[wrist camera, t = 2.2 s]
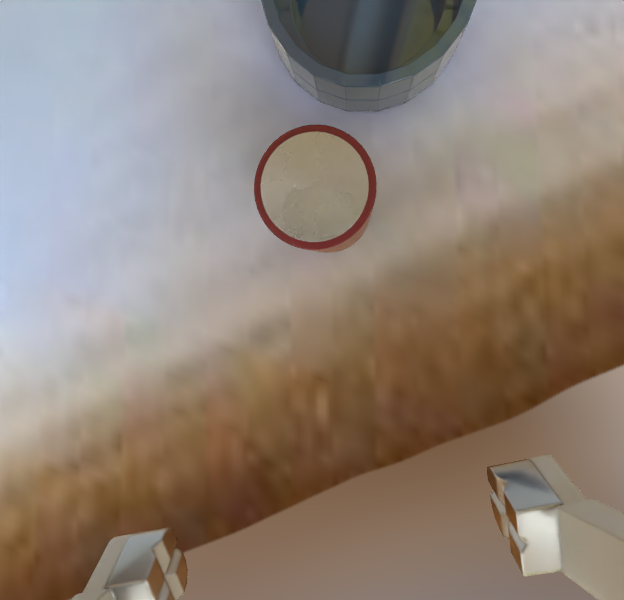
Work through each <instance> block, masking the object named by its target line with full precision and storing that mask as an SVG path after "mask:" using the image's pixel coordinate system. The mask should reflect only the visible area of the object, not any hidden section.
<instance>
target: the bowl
mask: <svg viewBox="0 0 624 600" xmlns="http://www.w3.org/2000/svg"><path fill="white" fill-rule="evenodd" d="M261 1H262V5H263V8H264V12H265V16H266V19H267V23H268V26H269V29H270V31H271V34H272V37H273V39H274V42H275V44H276V47H277V50H278V52H279V55H280V58H281V60H282V61H283V63H284V64H285V66H286V67H287V69H288V71H289V72H290V74H291V75H292V77H293V78H294V80H295V81H296V83H297V84H298V85H300V86H301V87H302V88H303V89H305V90H306V91H307V92H308V93H310V94H311V95H312V96H313V97H315V98H316V99H317V100H319V101H320V102H322V103H325V104H328V105H331V106H334V107H337V108H339V109H342V110H345V111H380V110H383V109H386V108H390V107H393V106H396V105H399V104H402V103H405V102H407V101H408V100H410V99H411V98H413V97H414V96H416V95H417V94H418V93H420V92H421V91H423V90H424V89H425V88H427V87H428V86H430V85H431V84H432V83H433V82H434V80H435V79H436V78H437V77H438V75H439V74H440V73H441V71H442V70H443V69H444V68H445V66H446V65H447V64H448V62H449V61H450V60H451V58H452V56H453V54H454V52H455V50H456V47H457V45H458V43H459V41H460V39H461V37H462V35H463V32H464V30H465V28H466V26H467V24H468V21H469V19H470V16H471V14H472V11H473V8H474V6H475V3H476V1H477V0H261Z"/></svg>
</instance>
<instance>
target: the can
mask: <svg viewBox="0 0 624 600" xmlns="http://www.w3.org/2000/svg"><path fill="white" fill-rule="evenodd" d="M254 195H255V201H256V205H257V209H258V211H259V214H260V216H261V218H262V219H263V221H264V223H265V224H266V226H267V227H268V228H269V229H270V230H271V231H272V232H273V234H274V235H276V236H277V237H278V238H280V239H281V240H282V241H284V242H286V243H288V244H290V245H292V246H295V247H298V248H302V249H307V250H313V251H318V252H337V251H341V250H343V249H346V248H348V247H349V246H351V245H352V244H354V243H355V242H356V241H357V240H358V239H359V238H360V237H361V236H362V234H363V233H364V231H365V229H366V227H367V225H368V222H369V219H370V215H371V212H372V209H373V205H374V202H375V197H376V175H375V171H374V167H373V165H372V162H371V160H370V158H369V156H368V154H367V152H366V151H365V150H364V148H363V147H362V146H361V145H360V144H359V143H358V142H357V140H355V139H354V138H353V137H352V136H350V135H349V134H347V133H345V132H344V131H342V130H339V129H337V128H334V127H330V126H325V125H307V126H302V127H299V128H295V129H293V130H291V131H289V132H287V133H285V134H283V135H282V136H280V137H279V138H278V139H277V140H275V141H274V142H273V143H272V144H271V146H270V147H269V148H268V149H267V151H266V152H265V153H264V155H263V157H262V159H261V160H260V163H259V165H258V168H257V171H256V175H255V182H254Z"/></svg>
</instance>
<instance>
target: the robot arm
mask: <svg viewBox="0 0 624 600" xmlns="http://www.w3.org/2000/svg"><path fill="white" fill-rule="evenodd" d="M487 475H488V481H489V483H490V485H491V487H492V489H493V492H492V493H491V495H490V497H491V503H492V508H493V512H494V515H495V519H496V521H497V524H498V526H499V528H500V531H501V532H502V535H503V536H504V537H506V538H507V539H509V540H510V547H511V553H512V554H513V556H514V558H515V560H516V562H517V564H518V566H519V568H520V570H521V572H522V574H523V576H529V575H537V574H544V573H550V572H558V571H562V572H563V574H565V575H566V576H567V577H569V578H570V579H571V580H573V581H574V582H575V583H577V584H578V585H579V586H581V587H582V588H583V589H585V590H586V591H587V592H589V593H590V594H591V595H593V596H594V597H595V598H597V599H598V600H624V513H623V512H621V511H619V510H617V509H615V508H612V507H610V506H608V505H606V504H603V503H602V502H599V501H597V500H595V499H593V500H587V498H586V497H585V496H584V495H583V493H582V492H581V491H580V490H579V489H578V487H577V486H576V485H575V484H574V482H573V481H572V480H571V479H570V477H569V476H568V475H567V474H566V473H565V471H564V470H563V469H562V468H561V466H560V465H559V464H558V463H557V461H556V460H555V459H554V458H553V457H552V456H551V455H549V454H546V455H542V456H537V457H532V458H528V459H525V460H520V461H515V462H510V463H505V464H500V465H495V466H490V467H487ZM176 542H177V537H176V535H175V533H174V531H173V529H171V528H164V529H158V530H152V531H146V532H140V533H134V534H130V535H124V536H118V537H114V538H113V539H112V540H110V542H109V543H108V545H107V547H106V549H105V551H104V553H103V555H102V557H101V559H100V561H99V563H98V564H97V566H96V568H95V570H94V572H93V574H92V576H91V578H90V580H89V582H88V584H87V585H86V587H85V589H84V591H83V593H81V594H76V595H75V596H74V597H73V598H72V599H71V600H179V599H180V598H181V597H182V595H183V594H184V592H185V588H186V584H187V565H186V560H185V557H184V554H183V552H181V551H180V550H178V549H177V548H175V545H176Z"/></svg>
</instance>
